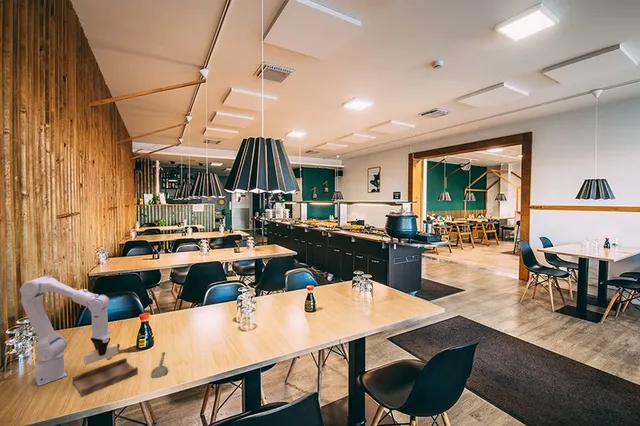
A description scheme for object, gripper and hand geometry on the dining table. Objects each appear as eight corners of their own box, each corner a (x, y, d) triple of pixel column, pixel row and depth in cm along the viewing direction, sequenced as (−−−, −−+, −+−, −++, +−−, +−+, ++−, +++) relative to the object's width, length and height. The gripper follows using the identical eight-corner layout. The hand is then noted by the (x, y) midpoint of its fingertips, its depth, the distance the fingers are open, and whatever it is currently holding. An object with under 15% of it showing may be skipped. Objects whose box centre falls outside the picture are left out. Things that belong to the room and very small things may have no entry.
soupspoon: (149, 382, 130) (166, 379, 133) (149, 374, 130) (166, 372, 132) (156, 356, 150) (171, 354, 153) (156, 349, 150) (171, 347, 153)
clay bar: (85, 365, 129) (85, 356, 129) (83, 362, 131) (83, 353, 131) (117, 353, 139) (117, 345, 139) (115, 351, 141) (115, 343, 140)
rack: (82, 396, 119) (81, 390, 119) (72, 383, 127) (72, 377, 127) (137, 373, 134) (137, 368, 134) (125, 363, 143) (125, 357, 143)
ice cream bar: (115, 359, 148) (119, 346, 161) (114, 355, 147) (119, 342, 161) (101, 361, 145) (107, 348, 159) (101, 358, 145) (107, 345, 159)
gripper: (116, 324, 133) (117, 355, 133) (104, 317, 142) (105, 345, 142) (97, 330, 127) (98, 361, 128) (86, 322, 136) (87, 351, 137)
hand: (100, 353), depth 135 cm, fingers closed on clay bar, 3 cm apart
